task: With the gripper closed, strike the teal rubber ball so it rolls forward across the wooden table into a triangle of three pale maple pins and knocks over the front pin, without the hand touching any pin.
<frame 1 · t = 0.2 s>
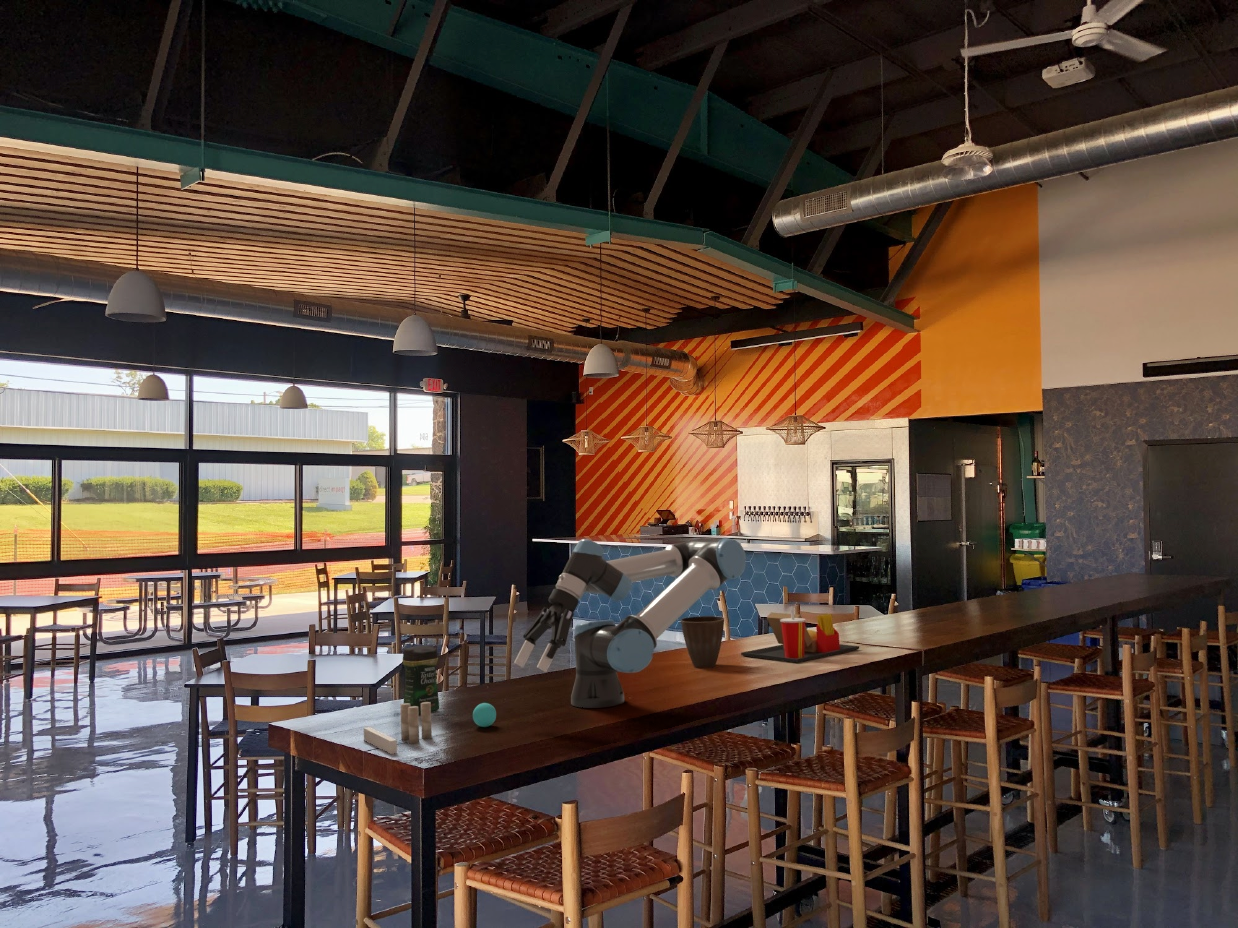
hand: (529, 667, 236), 15 cm above the table, tool tilted 35°, fingers open, 13 cm apart
coffee jar: (421, 713, 259), on the table
ball: (484, 714, 239), on the table
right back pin: (406, 738, 229), on the table
left back pin: (414, 742, 225), on the table
front pin: (426, 737, 229), on the table
back wall: (379, 746, 222), on the table
fast food meal: (800, 655, 333), on the table
plant pot: (704, 666, 315), on the table
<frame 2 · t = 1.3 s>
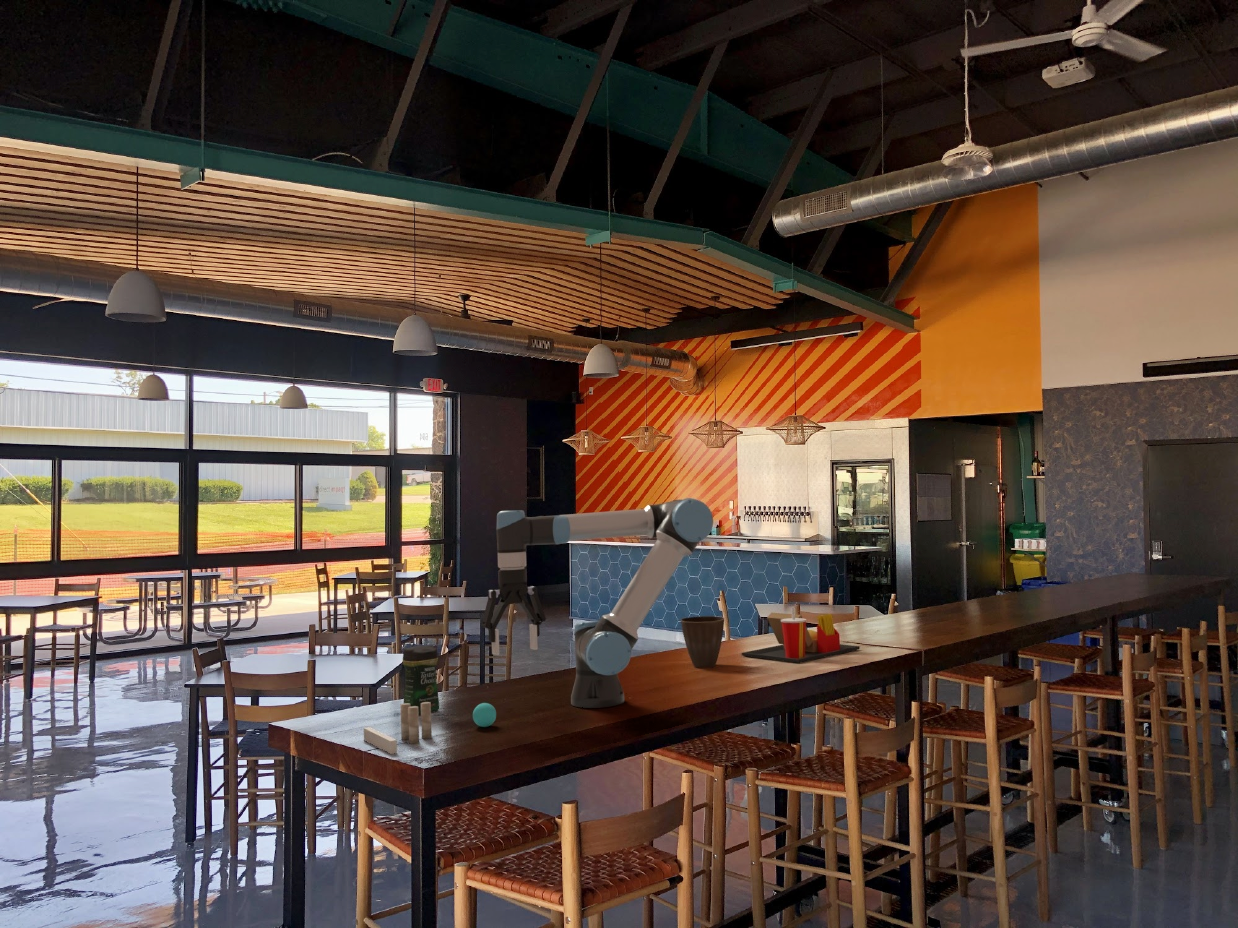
hand: (515, 651, 245), 18 cm above the table, tool pointing down, fingers open, 11 cm apart
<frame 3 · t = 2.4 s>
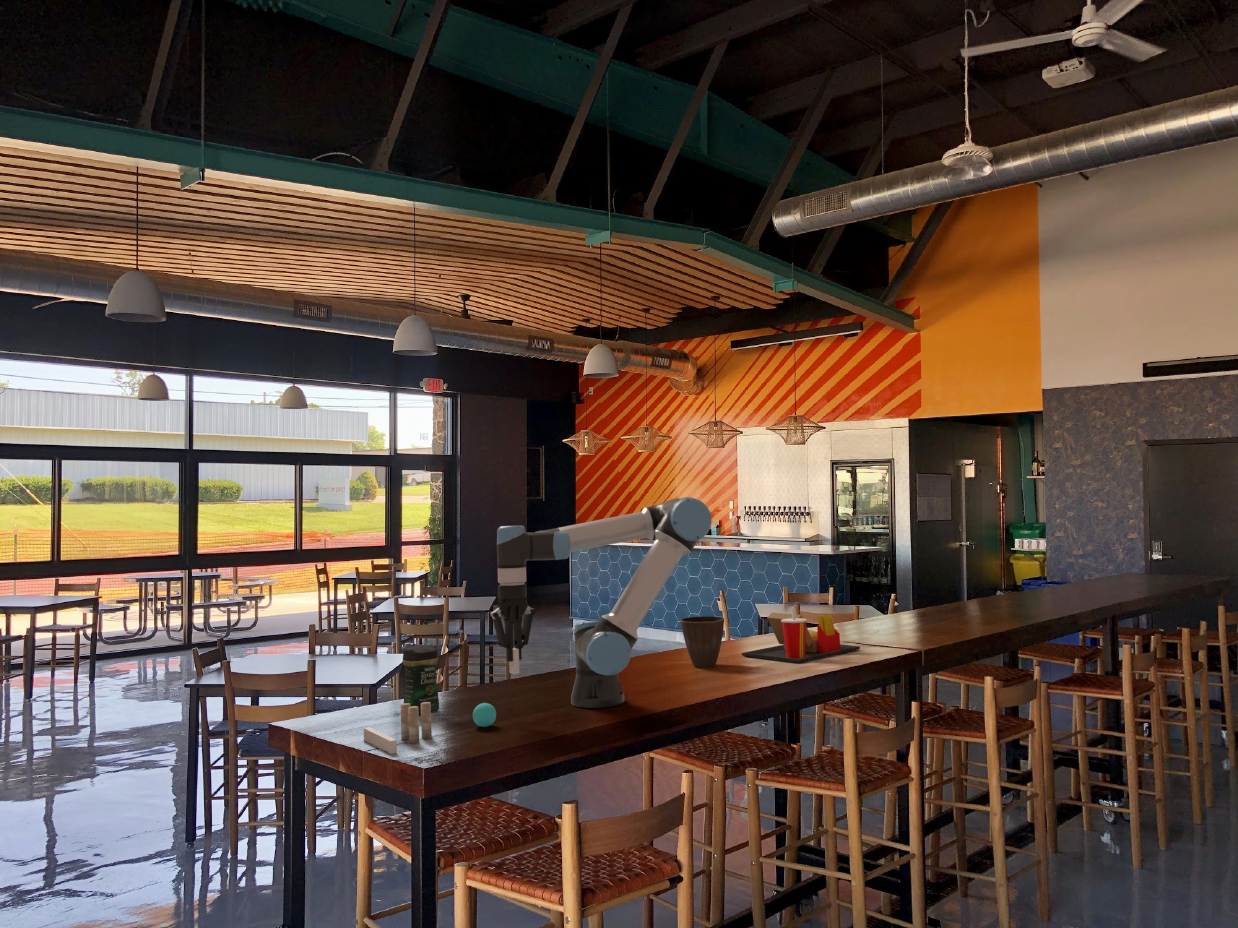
hand: (514, 673, 245), 12 cm above the table, tool pointing down, fingers closed
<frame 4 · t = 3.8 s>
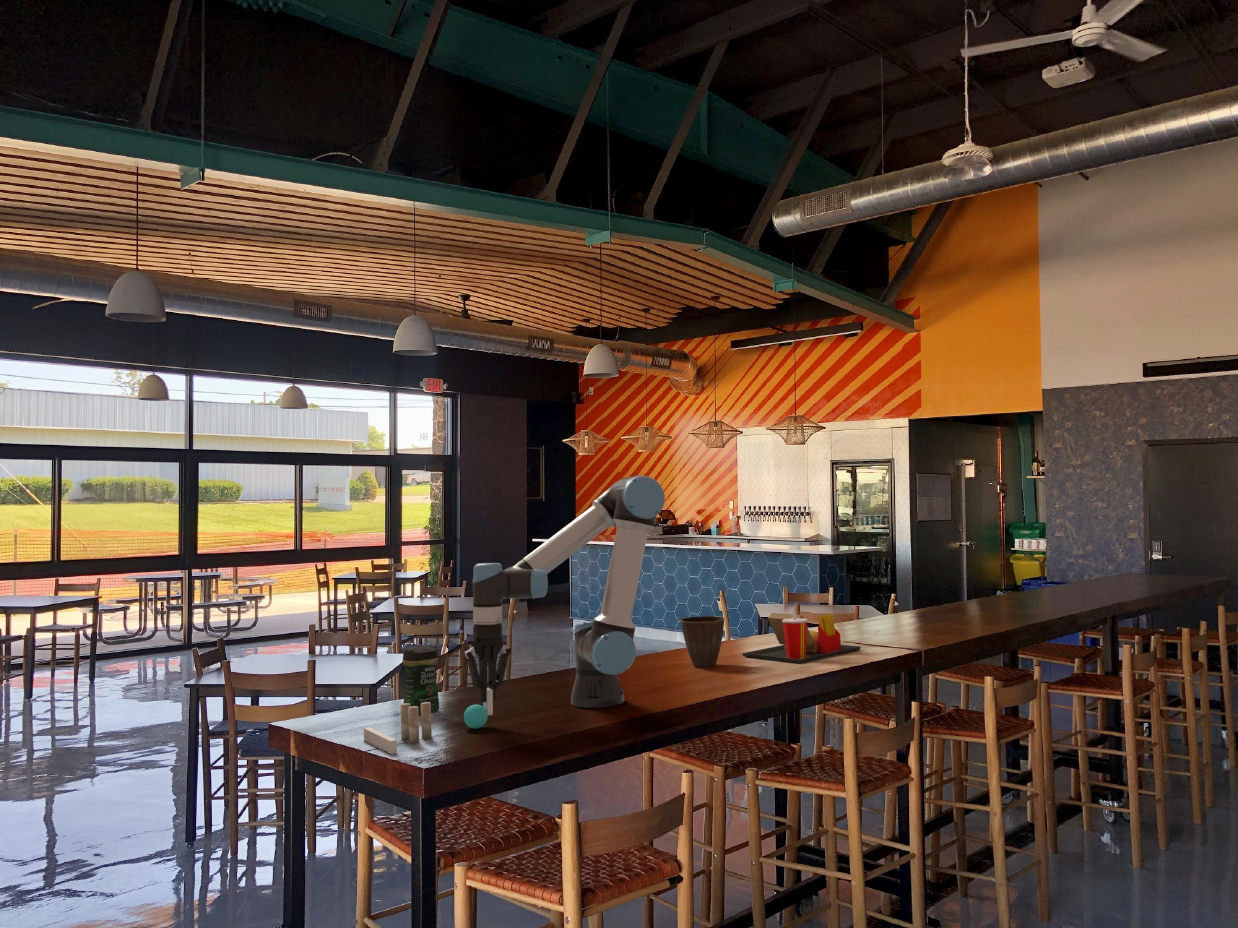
hand: (487, 714, 240), 3 cm above the table, tool pointing down, fingers closed
ball: (475, 716, 237), on the table
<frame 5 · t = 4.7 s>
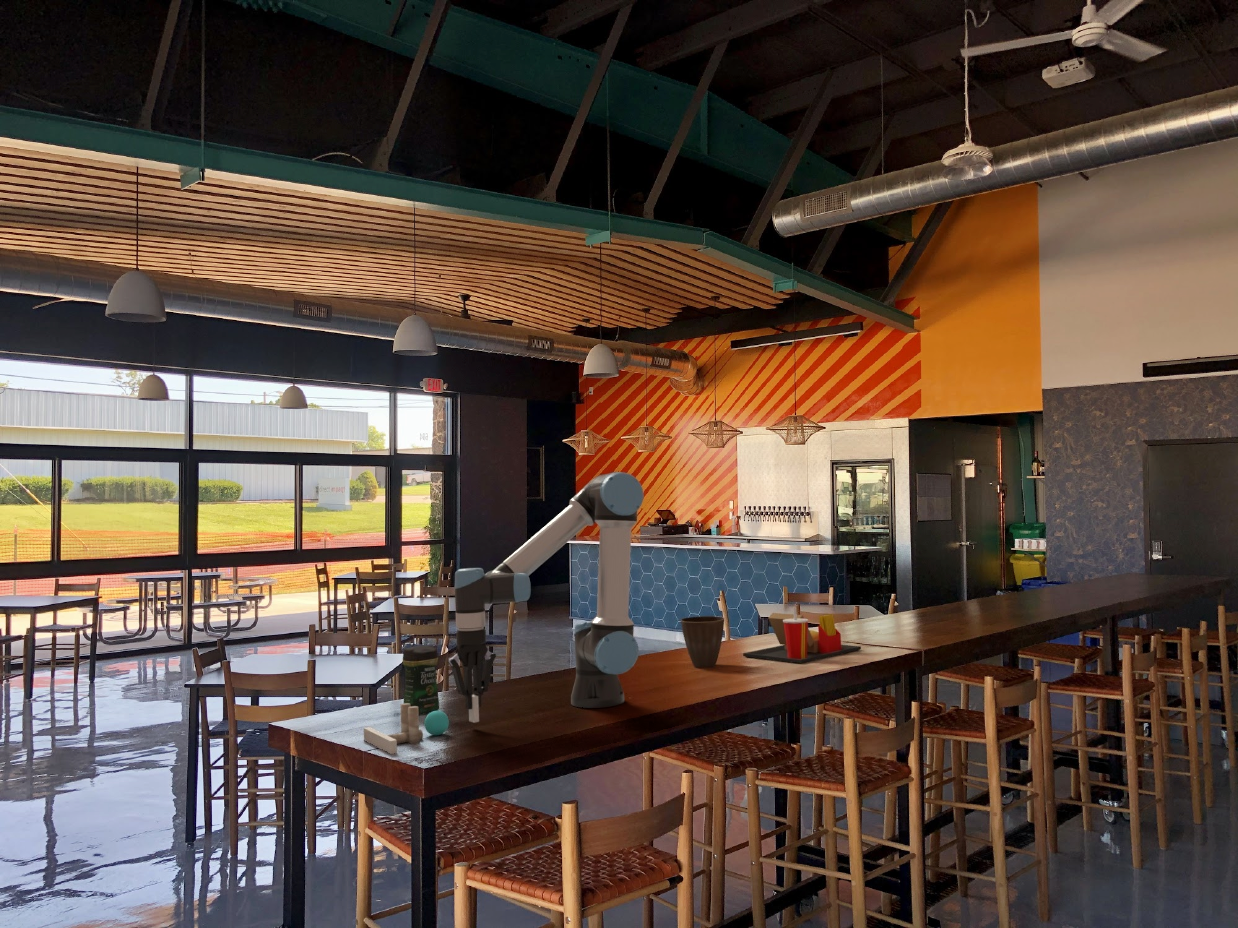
hand: (474, 721, 237), 2 cm above the table, tool pointing down, fingers closed
ball: (436, 722, 232), on the table
front pin: (421, 734, 228), point 1 cm above the table, tilted 90°
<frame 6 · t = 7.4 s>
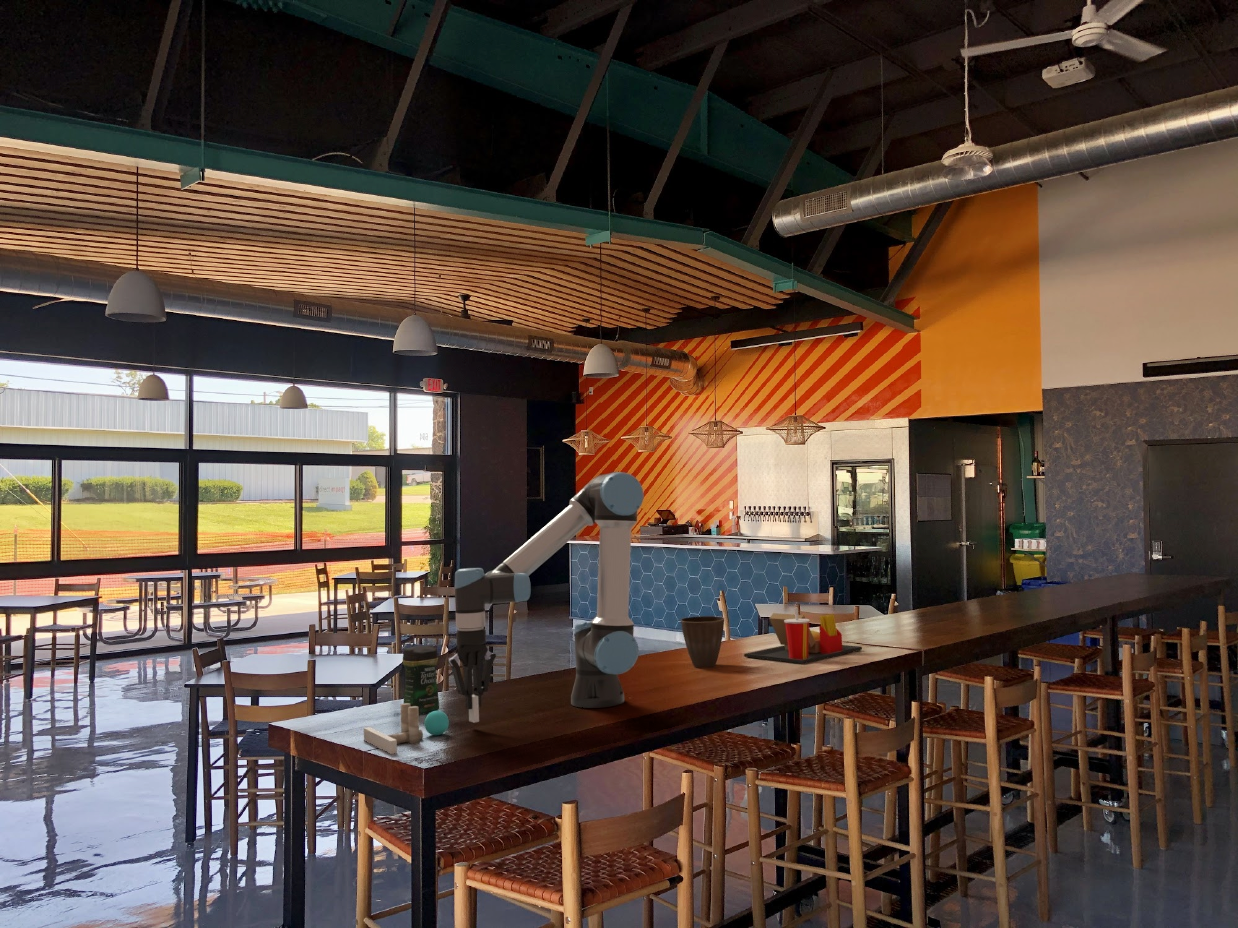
hand: (474, 721, 237), 2 cm above the table, tool pointing down, fingers closed
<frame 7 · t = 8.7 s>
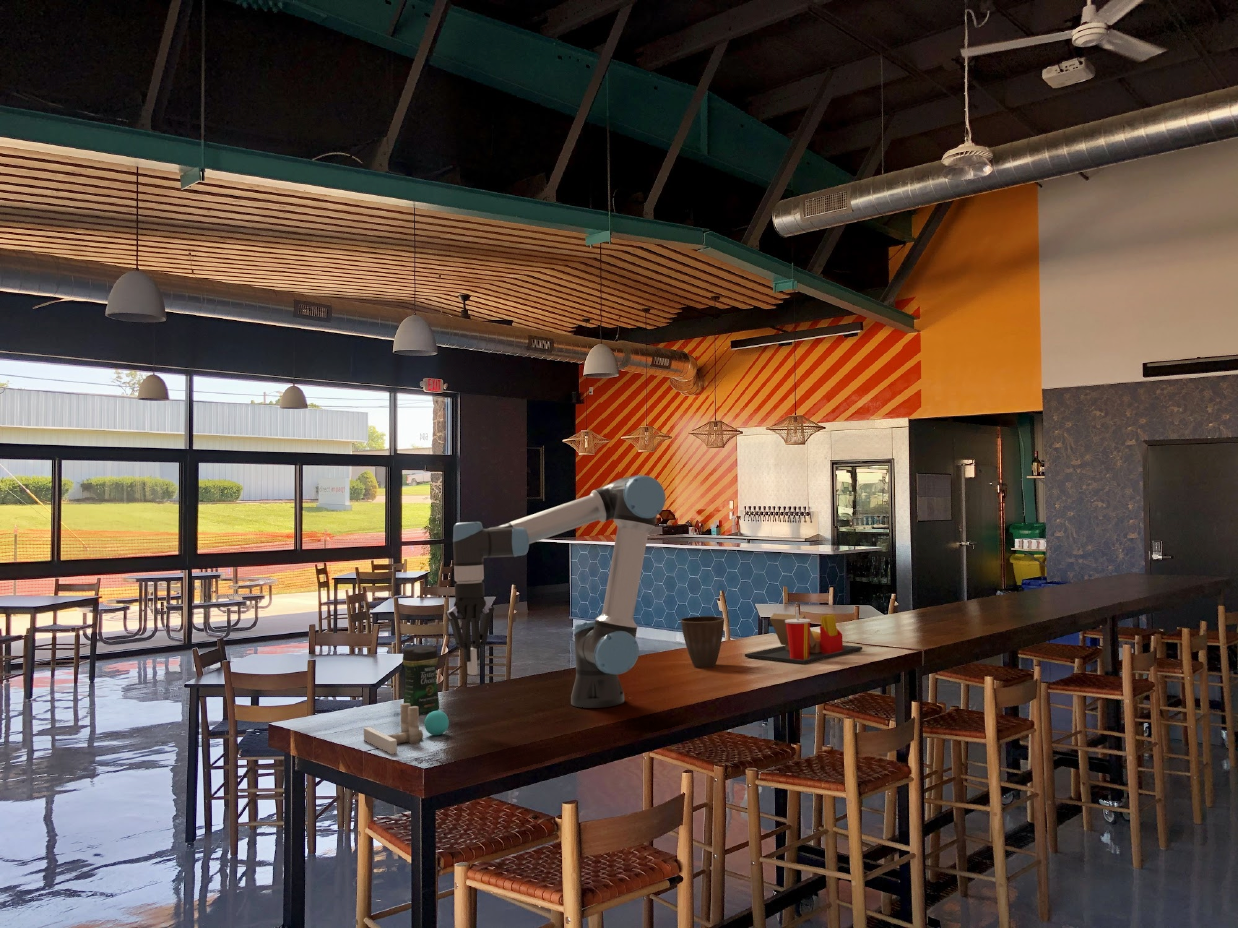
hand: (472, 673, 237), 14 cm above the table, tool pointing down, fingers closed
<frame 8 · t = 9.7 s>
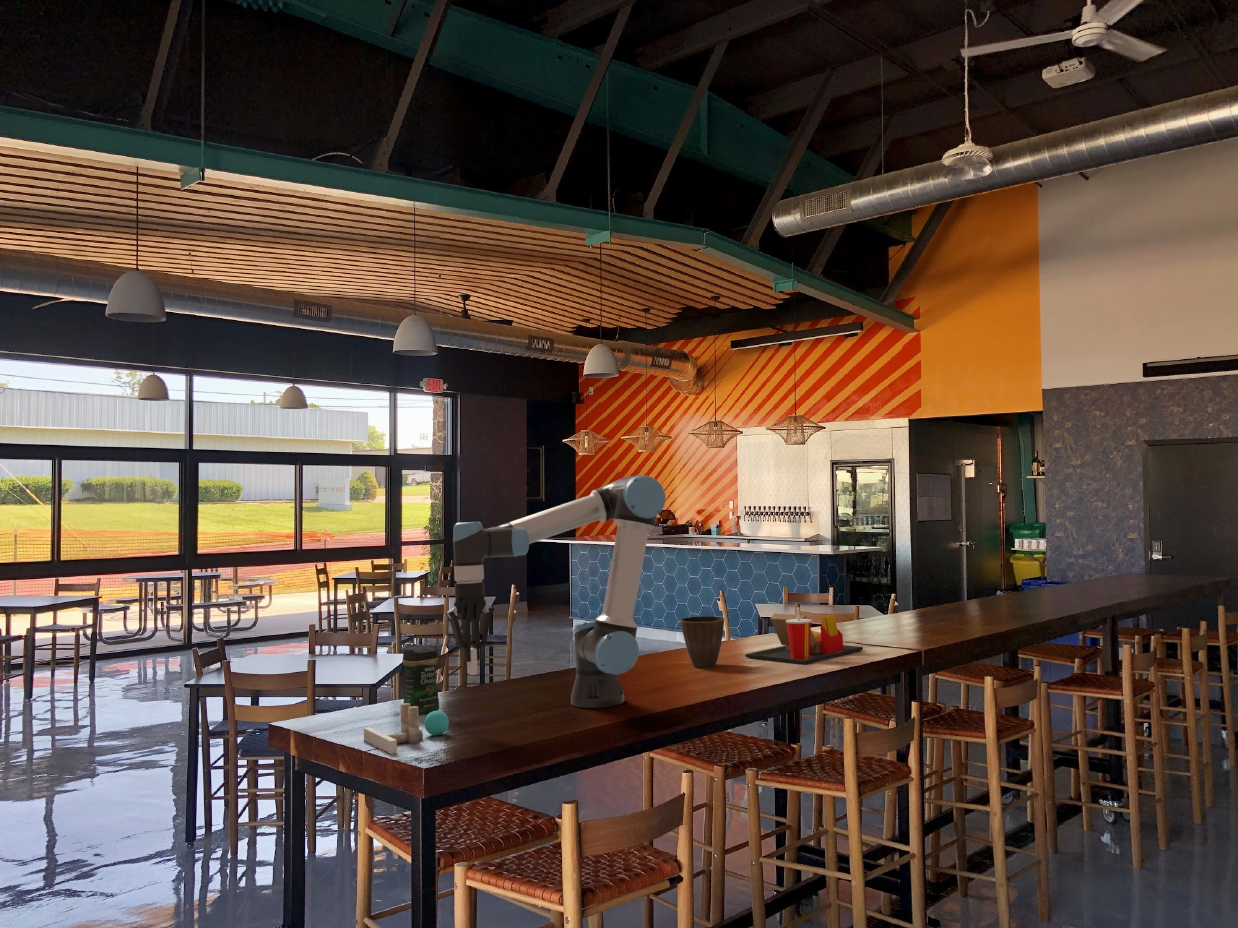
hand: (472, 673, 237), 14 cm above the table, tool pointing down, fingers closed
at the end: front pin tilted 90°; front pin never touched the robot; ball moved 13.0 cm from its start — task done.
